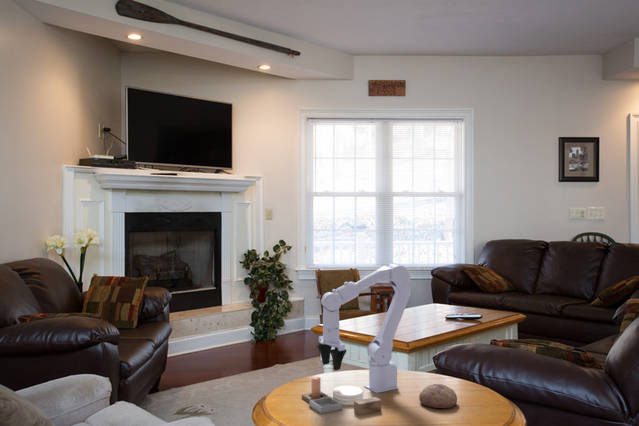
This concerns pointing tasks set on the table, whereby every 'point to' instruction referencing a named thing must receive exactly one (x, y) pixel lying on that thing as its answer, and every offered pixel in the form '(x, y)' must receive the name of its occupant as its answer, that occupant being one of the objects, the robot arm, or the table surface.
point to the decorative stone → (438, 396)
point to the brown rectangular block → (367, 406)
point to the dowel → (315, 387)
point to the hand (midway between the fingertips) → (331, 366)
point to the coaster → (347, 394)
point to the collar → (308, 398)
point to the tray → (325, 405)
